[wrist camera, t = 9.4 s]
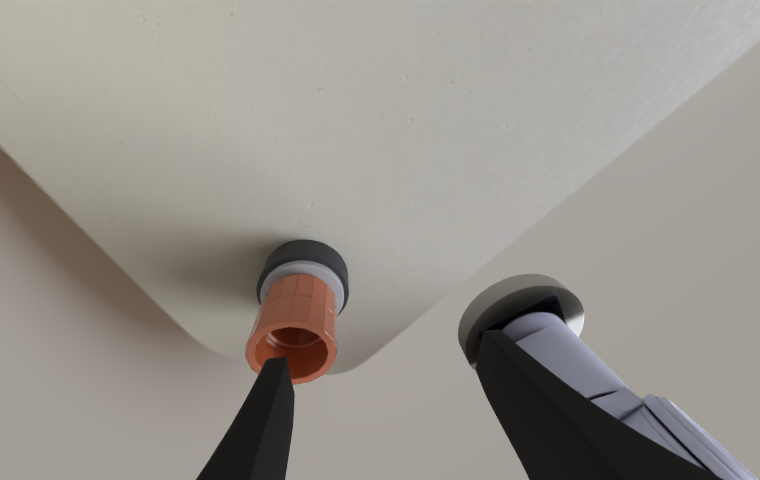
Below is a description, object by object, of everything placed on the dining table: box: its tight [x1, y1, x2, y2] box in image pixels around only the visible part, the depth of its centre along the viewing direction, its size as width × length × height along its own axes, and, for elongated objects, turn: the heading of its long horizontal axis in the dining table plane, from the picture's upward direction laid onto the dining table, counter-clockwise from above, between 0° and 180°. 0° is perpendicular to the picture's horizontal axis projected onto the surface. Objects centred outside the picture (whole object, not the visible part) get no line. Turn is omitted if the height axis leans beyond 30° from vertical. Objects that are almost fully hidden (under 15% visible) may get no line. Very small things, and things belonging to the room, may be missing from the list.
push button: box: [257, 240, 349, 316], centre depth 18 cm, size 5×5×2 cm
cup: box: [246, 274, 337, 385], centre depth 15 cm, size 4×4×4 cm
